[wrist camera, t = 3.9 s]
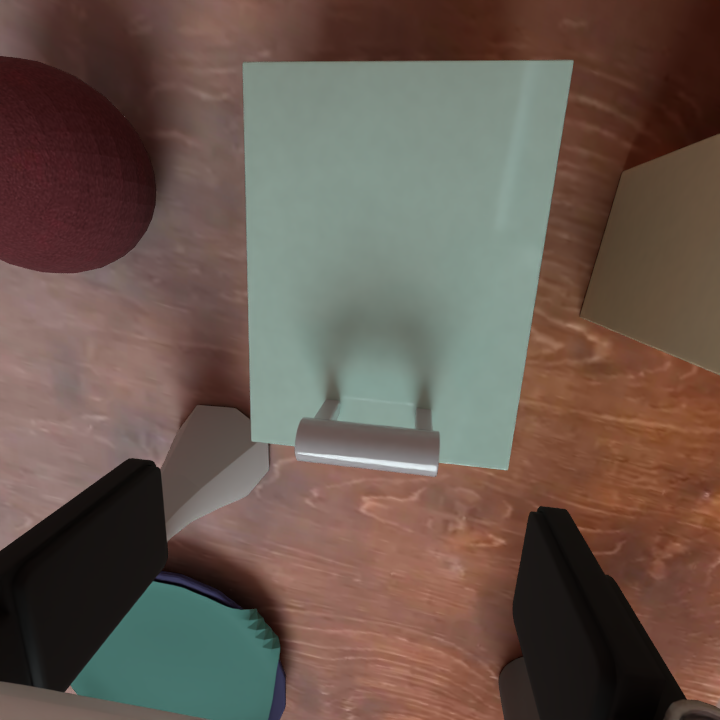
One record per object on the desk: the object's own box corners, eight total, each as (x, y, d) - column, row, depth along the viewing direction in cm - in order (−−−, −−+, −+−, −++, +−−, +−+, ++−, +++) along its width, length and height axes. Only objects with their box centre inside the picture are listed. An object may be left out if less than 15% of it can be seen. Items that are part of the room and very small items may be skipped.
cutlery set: (311, 592, 32) (303, 618, 30) (261, 830, 40) (252, 864, 38) (79, 526, 34) (55, 545, 32) (77, 768, 42) (58, 796, 40)
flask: (256, 507, 31) (183, 623, 21) (169, 471, 31) (57, 568, 22) (284, 425, 29) (216, 513, 19) (190, 387, 29) (77, 454, 19)
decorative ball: (30, 224, 28) (-177, 210, 18) (68, 69, 25) (-155, -46, 15) (160, 296, 28) (21, 321, 18) (213, 150, 25) (82, 86, 15)
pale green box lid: (504, 462, 19) (533, 534, 14) (257, 434, 20) (206, 491, 15) (566, 68, 15) (637, -20, 10) (250, 69, 16) (177, -7, 11)
